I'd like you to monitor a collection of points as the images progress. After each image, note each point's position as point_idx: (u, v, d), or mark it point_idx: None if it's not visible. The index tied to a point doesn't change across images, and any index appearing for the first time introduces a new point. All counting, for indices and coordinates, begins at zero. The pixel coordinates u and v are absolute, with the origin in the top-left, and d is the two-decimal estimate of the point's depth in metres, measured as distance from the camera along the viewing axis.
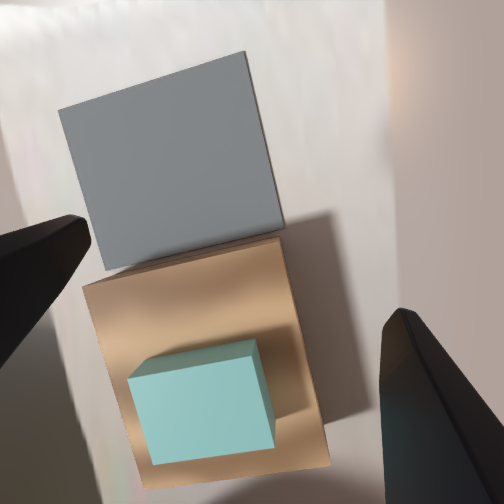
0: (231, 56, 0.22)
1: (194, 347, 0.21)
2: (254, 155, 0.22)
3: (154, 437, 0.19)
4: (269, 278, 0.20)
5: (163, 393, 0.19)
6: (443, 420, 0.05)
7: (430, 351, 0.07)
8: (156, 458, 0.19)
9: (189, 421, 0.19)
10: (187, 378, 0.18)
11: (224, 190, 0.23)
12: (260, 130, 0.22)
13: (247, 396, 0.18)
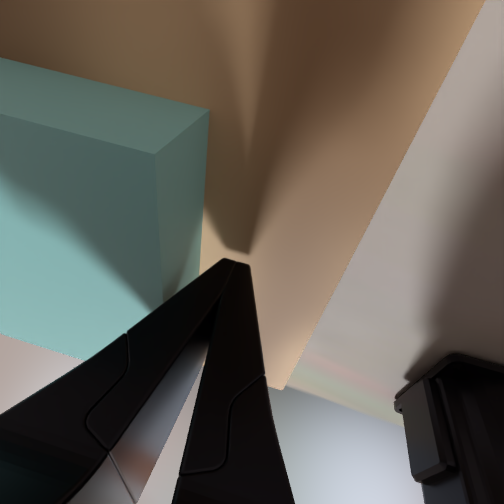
0: None
1: None
2: None
3: None
4: None
5: (14, 307, 0.09)
6: None
7: (235, 294, 0.07)
8: None
9: (71, 303, 0.08)
10: None
11: None
12: None
13: None
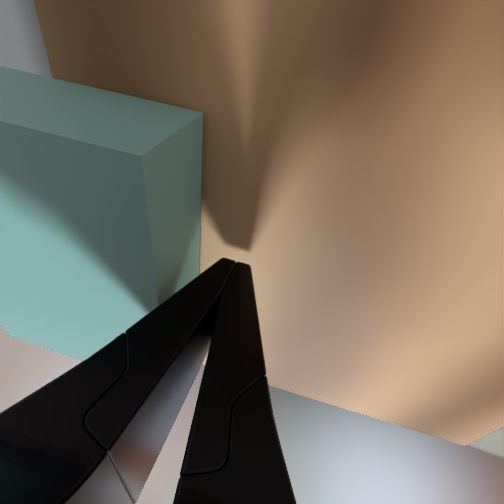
0: None
1: (266, 272, 0.09)
2: None
3: None
4: None
5: (19, 309, 0.09)
6: None
7: (235, 295, 0.07)
8: None
9: (72, 305, 0.08)
10: None
11: (17, 29, 0.10)
12: None
13: None
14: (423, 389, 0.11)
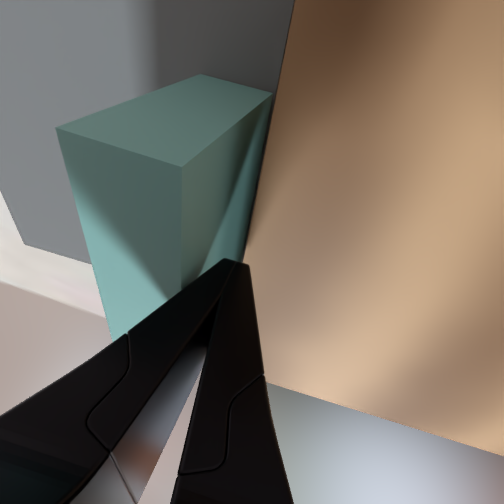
0: None
1: (432, 317, 0.09)
2: None
3: None
4: (419, 43, 0.05)
5: None
6: None
7: (234, 294, 0.07)
8: None
9: None
10: None
11: (162, 61, 0.10)
12: None
13: None
14: None
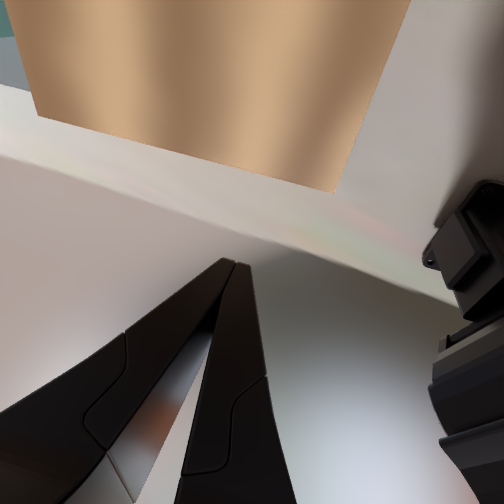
0: None
1: None
2: None
3: None
4: None
5: None
6: None
7: (236, 295, 0.07)
8: None
9: None
10: None
11: None
12: None
13: None
14: (280, 110, 0.13)
